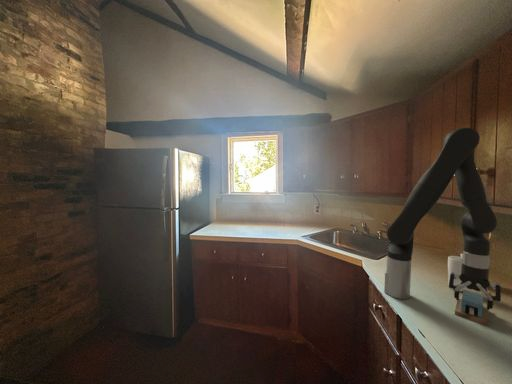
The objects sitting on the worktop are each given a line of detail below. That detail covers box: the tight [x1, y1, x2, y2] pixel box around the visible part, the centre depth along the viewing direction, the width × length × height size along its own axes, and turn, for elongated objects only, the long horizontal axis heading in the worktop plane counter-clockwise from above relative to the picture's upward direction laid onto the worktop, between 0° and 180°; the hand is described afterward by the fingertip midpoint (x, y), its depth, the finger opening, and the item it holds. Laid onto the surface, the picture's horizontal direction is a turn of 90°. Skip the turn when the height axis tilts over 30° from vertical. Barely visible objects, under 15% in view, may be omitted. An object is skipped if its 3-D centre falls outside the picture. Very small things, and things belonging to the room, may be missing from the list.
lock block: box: [461, 289, 484, 318], centre depth 85 cm, size 10×6×5 cm, turn 134°
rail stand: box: [454, 298, 490, 326], centre depth 86 cm, size 9×12×4 cm
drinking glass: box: [447, 255, 465, 293], centre depth 103 cm, size 7×7×15 cm
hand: (472, 303), depth 86 cm, fingers open, 8 cm apart
